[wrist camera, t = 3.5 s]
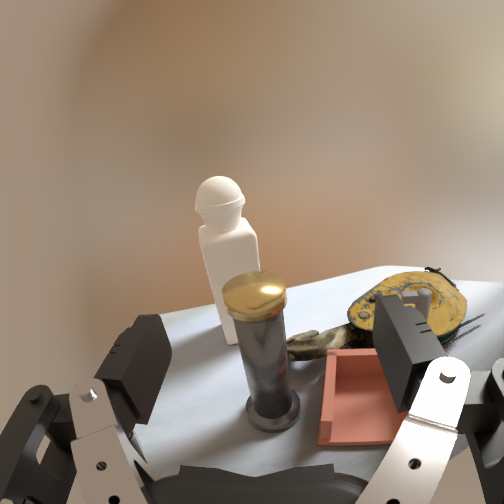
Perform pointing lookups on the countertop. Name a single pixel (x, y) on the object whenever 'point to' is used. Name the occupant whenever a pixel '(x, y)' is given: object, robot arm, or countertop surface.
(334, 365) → the keeper bracket
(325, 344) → the pulley block
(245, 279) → the tie-down post
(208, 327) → the countertop surface
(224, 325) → the white square bottle
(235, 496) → the robot arm
